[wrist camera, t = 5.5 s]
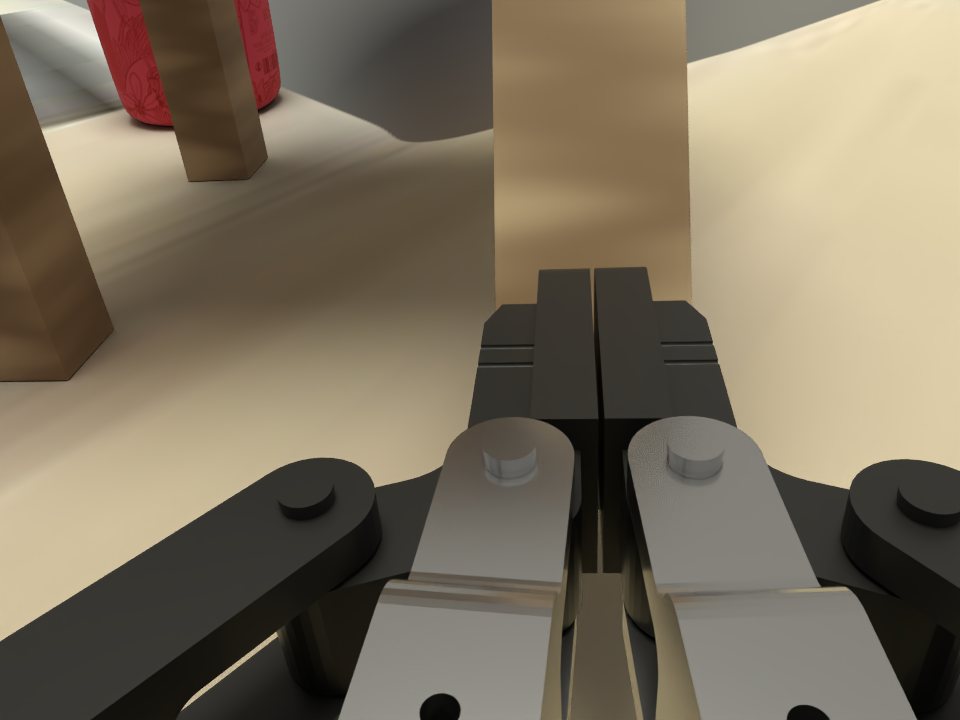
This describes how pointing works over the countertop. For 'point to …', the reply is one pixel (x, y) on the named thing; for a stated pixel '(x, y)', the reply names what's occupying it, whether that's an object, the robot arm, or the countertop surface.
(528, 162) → the oak leg
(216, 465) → the countertop surface
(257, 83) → the red bottle
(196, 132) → the walnut stool
